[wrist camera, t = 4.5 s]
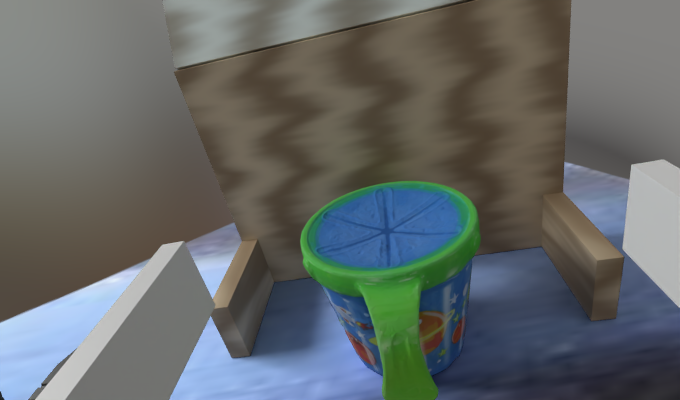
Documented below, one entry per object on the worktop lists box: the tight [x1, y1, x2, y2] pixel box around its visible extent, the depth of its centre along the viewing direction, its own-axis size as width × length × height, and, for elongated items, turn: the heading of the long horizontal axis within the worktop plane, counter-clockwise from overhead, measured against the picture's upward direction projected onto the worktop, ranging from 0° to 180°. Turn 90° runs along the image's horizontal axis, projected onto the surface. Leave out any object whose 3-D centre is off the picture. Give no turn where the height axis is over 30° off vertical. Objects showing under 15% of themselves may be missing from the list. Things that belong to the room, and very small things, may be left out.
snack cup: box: [300, 181, 481, 400], centre depth 26 cm, size 16×10×10 cm
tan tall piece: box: [163, 0, 624, 358], centre depth 27 cm, size 27×20×42 cm
